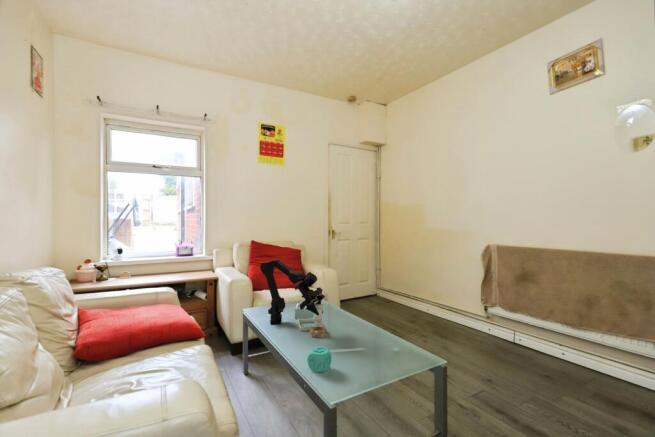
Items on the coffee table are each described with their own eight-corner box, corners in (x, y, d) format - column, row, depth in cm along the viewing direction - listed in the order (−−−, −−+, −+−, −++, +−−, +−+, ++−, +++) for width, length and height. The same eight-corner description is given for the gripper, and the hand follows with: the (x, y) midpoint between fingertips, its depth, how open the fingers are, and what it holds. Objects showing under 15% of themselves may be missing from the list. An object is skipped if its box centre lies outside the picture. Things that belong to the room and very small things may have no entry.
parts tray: (299, 332, 169) (299, 327, 169) (297, 323, 182) (297, 319, 182) (322, 331, 172) (322, 326, 172) (318, 322, 185) (318, 318, 185)
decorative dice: (306, 369, 129) (307, 351, 129) (317, 361, 135) (317, 344, 135) (321, 375, 124) (322, 356, 124) (331, 367, 131) (332, 349, 131)
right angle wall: (312, 320, 190) (313, 309, 190) (294, 319, 191) (295, 308, 191) (314, 314, 202) (314, 303, 202) (297, 313, 203) (297, 303, 203)
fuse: (315, 325, 163) (316, 306, 163) (313, 322, 167) (314, 303, 167) (322, 325, 164) (323, 306, 164) (321, 322, 168) (321, 303, 168)
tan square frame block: (311, 339, 160) (312, 331, 160) (309, 332, 169) (309, 326, 168) (326, 338, 162) (326, 331, 162) (323, 332, 170) (323, 325, 170)
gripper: (304, 286, 160) (320, 310, 154) (322, 280, 175) (337, 302, 170) (292, 297, 164) (307, 321, 158) (311, 291, 180) (326, 312, 174)
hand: (320, 314), depth 165 cm, fingers closed on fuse, 4 cm apart
